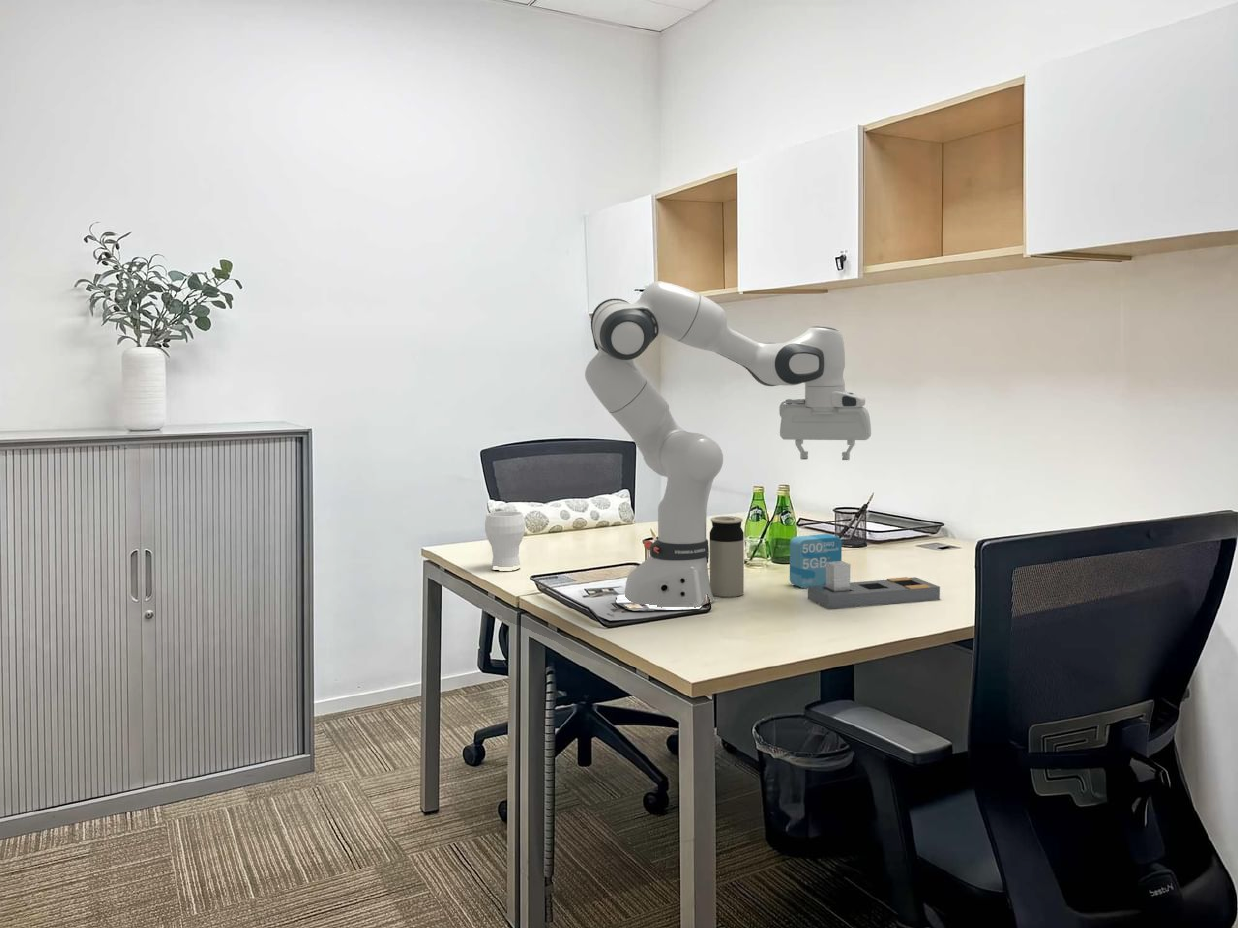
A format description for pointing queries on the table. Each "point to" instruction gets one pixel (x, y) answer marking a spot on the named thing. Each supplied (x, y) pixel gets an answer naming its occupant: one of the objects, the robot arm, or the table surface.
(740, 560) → the travel mug
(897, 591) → the hole rail
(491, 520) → the cup
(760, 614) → the table surface
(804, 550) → the data package
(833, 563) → the steel peg
